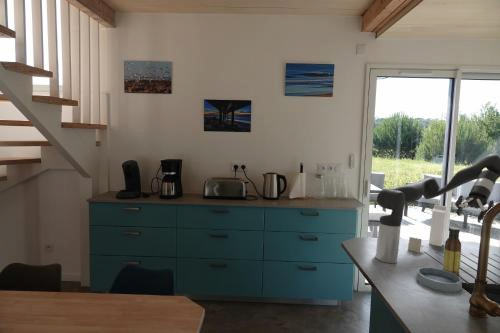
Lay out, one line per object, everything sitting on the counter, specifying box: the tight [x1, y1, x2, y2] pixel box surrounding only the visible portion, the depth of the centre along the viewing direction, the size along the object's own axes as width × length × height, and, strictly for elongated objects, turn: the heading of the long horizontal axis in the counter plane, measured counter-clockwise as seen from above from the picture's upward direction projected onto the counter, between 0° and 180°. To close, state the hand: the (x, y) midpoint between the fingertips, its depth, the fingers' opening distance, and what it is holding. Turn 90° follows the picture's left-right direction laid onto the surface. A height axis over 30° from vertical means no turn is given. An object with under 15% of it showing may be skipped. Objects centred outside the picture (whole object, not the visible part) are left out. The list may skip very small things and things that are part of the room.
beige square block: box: [407, 236, 425, 253], centre depth 173 cm, size 3×7×7 cm, turn 58°
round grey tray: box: [415, 266, 463, 293], centre depth 134 cm, size 16×16×3 cm
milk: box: [428, 204, 448, 247], centre depth 185 cm, size 6×6×22 cm
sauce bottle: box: [442, 226, 462, 276], centre depth 145 cm, size 7×6×20 cm
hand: (468, 216), depth 150 cm, fingers open, 8 cm apart
